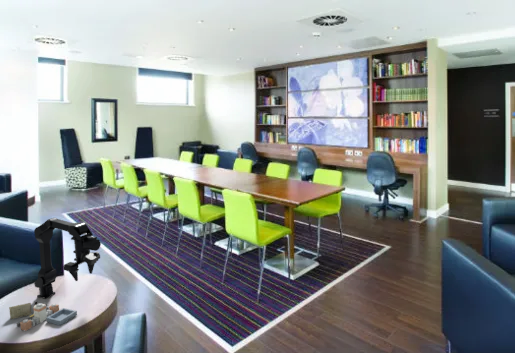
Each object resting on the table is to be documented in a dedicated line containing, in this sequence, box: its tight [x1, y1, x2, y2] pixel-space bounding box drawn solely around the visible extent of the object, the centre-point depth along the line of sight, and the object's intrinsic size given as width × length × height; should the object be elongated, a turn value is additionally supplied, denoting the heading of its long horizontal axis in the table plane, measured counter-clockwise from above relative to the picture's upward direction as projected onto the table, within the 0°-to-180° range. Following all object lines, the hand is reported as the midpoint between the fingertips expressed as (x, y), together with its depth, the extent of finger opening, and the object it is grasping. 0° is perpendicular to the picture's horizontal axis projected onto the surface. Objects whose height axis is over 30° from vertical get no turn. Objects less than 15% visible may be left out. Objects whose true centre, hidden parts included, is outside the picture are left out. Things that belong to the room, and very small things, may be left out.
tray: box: [46, 307, 78, 326], centre depth 176 cm, size 9×10×2 cm
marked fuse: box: [32, 302, 47, 324], centre depth 174 cm, size 4×4×8 cm
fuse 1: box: [19, 318, 33, 332], centre depth 168 cm, size 3×3×4 cm
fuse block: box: [16, 306, 53, 328], centre depth 175 cm, size 7×16×2 cm, turn 160°
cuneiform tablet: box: [9, 301, 39, 320], centre depth 179 cm, size 7×4×12 cm
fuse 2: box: [49, 303, 60, 314], centre depth 182 cm, size 3×3×4 cm
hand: (83, 277), depth 188 cm, fingers open, 9 cm apart
